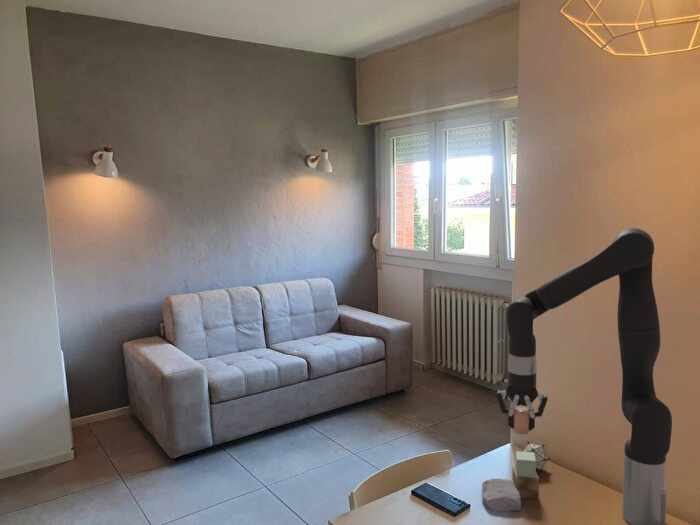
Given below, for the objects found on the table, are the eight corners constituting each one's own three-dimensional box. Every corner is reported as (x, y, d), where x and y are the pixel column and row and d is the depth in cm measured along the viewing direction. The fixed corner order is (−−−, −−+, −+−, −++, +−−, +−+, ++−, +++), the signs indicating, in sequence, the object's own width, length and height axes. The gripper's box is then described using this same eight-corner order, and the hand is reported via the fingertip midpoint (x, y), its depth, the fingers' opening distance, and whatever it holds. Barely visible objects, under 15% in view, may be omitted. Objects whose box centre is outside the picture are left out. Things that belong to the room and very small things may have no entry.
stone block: (487, 518, 144) (525, 511, 143) (484, 501, 143) (521, 494, 142) (480, 495, 156) (515, 489, 155) (477, 479, 155) (511, 473, 154)
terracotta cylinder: (529, 428, 151) (529, 408, 150) (529, 435, 147) (529, 414, 146) (513, 426, 152) (513, 406, 152) (512, 433, 148) (513, 412, 148)
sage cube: (533, 469, 153) (534, 452, 153) (535, 478, 148) (535, 461, 148) (515, 467, 154) (515, 451, 154) (516, 476, 150) (516, 459, 149)
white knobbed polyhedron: (539, 478, 166) (559, 454, 165) (533, 481, 159) (554, 455, 158) (516, 457, 171) (535, 433, 170) (509, 458, 164) (529, 433, 163)
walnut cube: (533, 487, 155) (533, 467, 154) (538, 498, 149) (538, 478, 148) (512, 486, 155) (512, 467, 155) (516, 498, 149) (516, 477, 149)
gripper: (494, 371, 146) (494, 431, 148) (550, 375, 142) (549, 437, 144) (496, 363, 153) (495, 420, 155) (548, 367, 149) (547, 425, 151)
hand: (521, 428), depth 150 cm, fingers closed on terracotta cylinder, 4 cm apart
